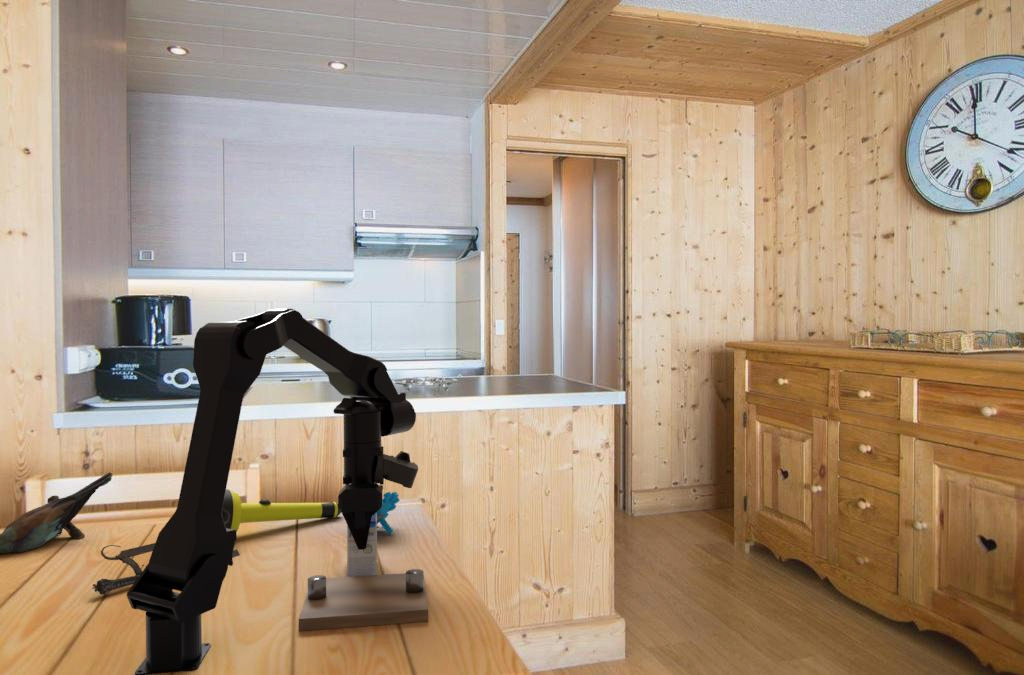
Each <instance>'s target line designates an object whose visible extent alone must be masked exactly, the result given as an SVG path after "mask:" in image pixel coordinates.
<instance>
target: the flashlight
mask: <svg viewBox="0 0 1024 675" xmlns="http://www.w3.org/2000/svg"><path fill="white" fill-rule="evenodd" d="M223 509H225V510H227V511H228V513H229V514H230V519H229V521H228V523H227V524H225V527H226V528H228V529H233V530H236V533H237V532H238V531H239V528H240V525H241V524H249V523H262V522H263V523H264V522H265V523H266V522H277V521H294V520H295V521H296V520H297V521H298V520H309V519H310V520H311V519H312V520H313V519H328V518H329V519H336V518H337V517H338V516H340V514H342V512H340V509H338V502H336V501H330V502H271V501H270V500H269V499H267V498H262V499H261V500H259V501H258V502H242V500H241V497H240V494H239V493H237V492H235V491H232V490H230V489H228V488H226V492H225V497H224V502H223ZM222 518H223V521H224V523H225V522H226V521H227V518H228V514H226V512H224V511H223V510H222Z"/></svg>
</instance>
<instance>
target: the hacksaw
mask: <svg viewBox="0 0 1024 675" xmlns="http://www.w3.org/2000/svg"><path fill="white" fill-rule="evenodd" d="M222 510H223V511H224V512H226V514H228V518H227V521H226V522H225V523H224V524H227V523H228V521H229V519H230V514H229V513H228V511H227V510H225V509H223V508H222ZM155 543H156V542H154V543H150V544H144V545H140V546H136V547H132V548H129V549H123V550H121V551H120V552H119V554H117V555H115V556H114V557H113V556H112V557H111V556H106V554H105V553H104V550H105V549H107V548H108V547H118V548H121V546H120V545H116V544H110V545H106V546H104V547H102V548H101V550H100V555H101V557H102V558H103V559H105V560H108V561H121V562H122V564H125V565H128V566H129V567H130V568H131V569H132V570H133V572H134V574H135V575H132V576H128V577H127V576H126V577H125V576H124V577H122V578H117V579H109V578H101V579H99V580H97V582H96V583H94V584H92V589H93V591H94V592H98V593H99V594H100V595H101V596H102V595H106V594H107V593H108V592H111V591H115V590H117V589H121V588H124V587H127V586H132V585H133V584H134V583H135V581H136V580H137V578H138V577H139V576H140V574H141V573H142V572H143V570H142V569H143V567H144V566H145V565H144V564H142V565H141V566H140V565H139V563H138V562H136V561H135V559H133V557H137V556H139V555H140V556H141V555H143V554H147V553H152V551H153V549H154V546H155ZM238 556H241V553H240V552H239V551H238V548H237V549H233V554H232V559H233V558H235V557H238Z"/></svg>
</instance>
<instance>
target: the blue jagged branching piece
mask: <svg viewBox="0 0 1024 675" xmlns="http://www.w3.org/2000/svg"><path fill="white" fill-rule="evenodd" d="M399 502H400V498H399V494H398V493H397V491H394V492H390V491H387V492H385V493H383V503H382V508H381V509H380V510H379V511H377V525H378V524H379V523H380V525H381V527H383V529H384V531H385V532H386V533H387V535H391V534H392V533H393V532H394V530H393V528H392V527H391V526H390V524H389V523H388V522H387V520H386V518H387V517H388V516H389V513H388V512H391V511H394V510H395V509H396V508H397V503H399Z"/></svg>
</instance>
